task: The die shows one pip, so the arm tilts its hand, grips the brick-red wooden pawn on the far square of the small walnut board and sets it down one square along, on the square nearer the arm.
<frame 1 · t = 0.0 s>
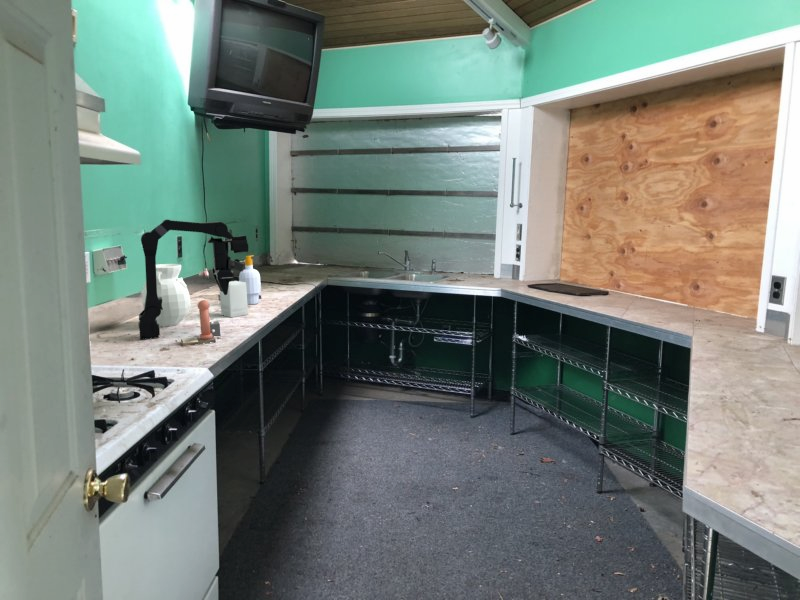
hand: (223, 293, 215), 15 cm above the worktop, tool pointing down, fingers open, 9 cm apart
pawn: (206, 338, 199), point 1 cm above the worktop, touching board
pitcher: (169, 324, 229), on the worktop
supplement box: (234, 315, 246), on the worktop
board: (198, 342, 198), on the worktop
die: (212, 335, 207), on the worktop
soap bottle: (251, 304, 273), on the worktop
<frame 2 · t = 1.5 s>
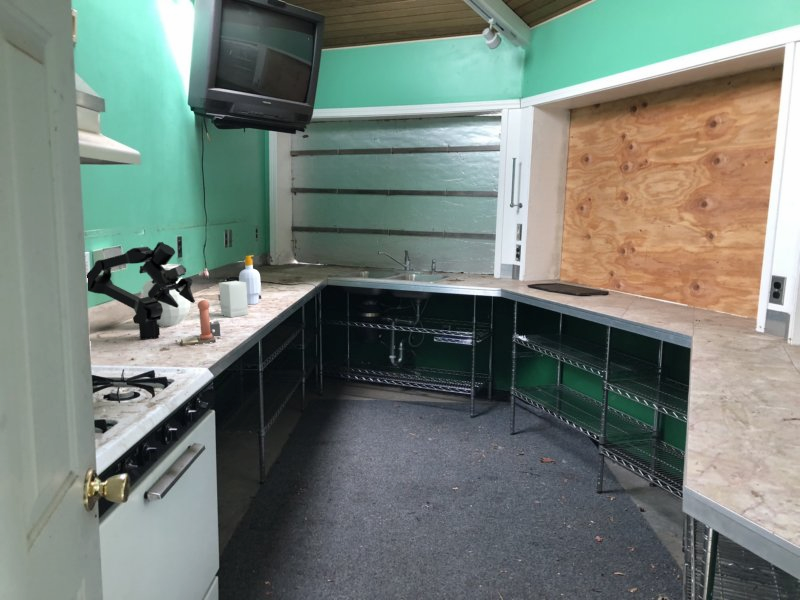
hand: (186, 304, 199), 13 cm above the worktop, tool tilted 45°, fingers open, 9 cm apart
nothing on the worktop moved.
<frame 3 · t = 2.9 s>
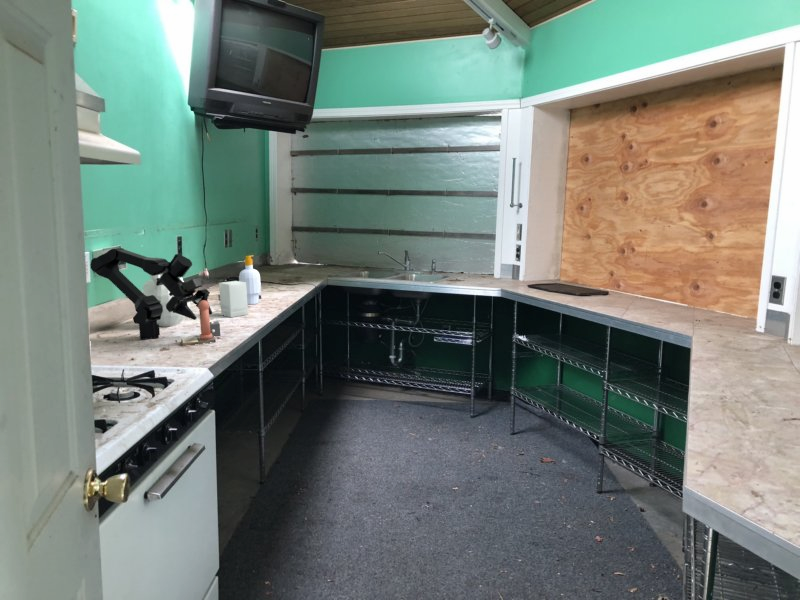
hand: (203, 316, 197), 9 cm above the worktop, tool tilted 45°, fingers open, 9 cm apart
nothing on the worktop moved.
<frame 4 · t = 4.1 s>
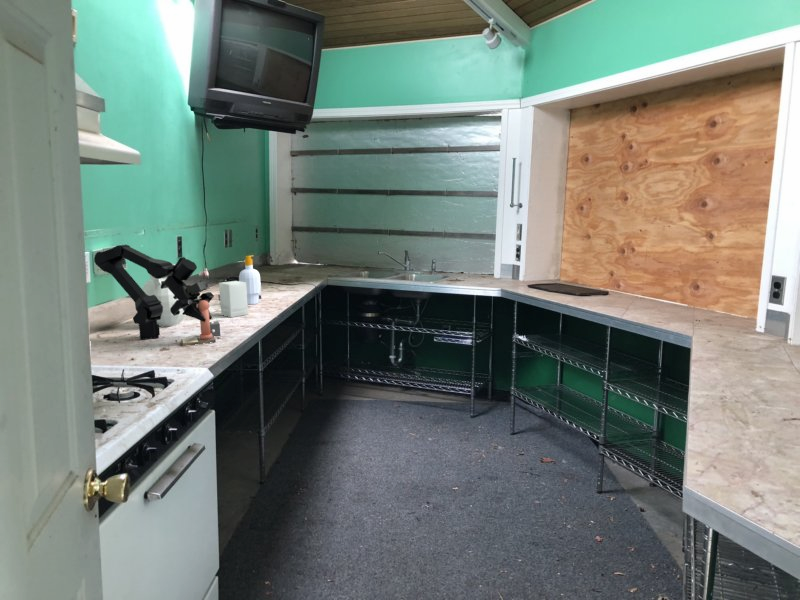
hand: (208, 319, 197), 8 cm above the worktop, tool tilted 45°, fingers closed on pawn, 3 cm apart
pawn: (206, 338, 199), point 1 cm above the worktop, touching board, gripper
everything else where it was.
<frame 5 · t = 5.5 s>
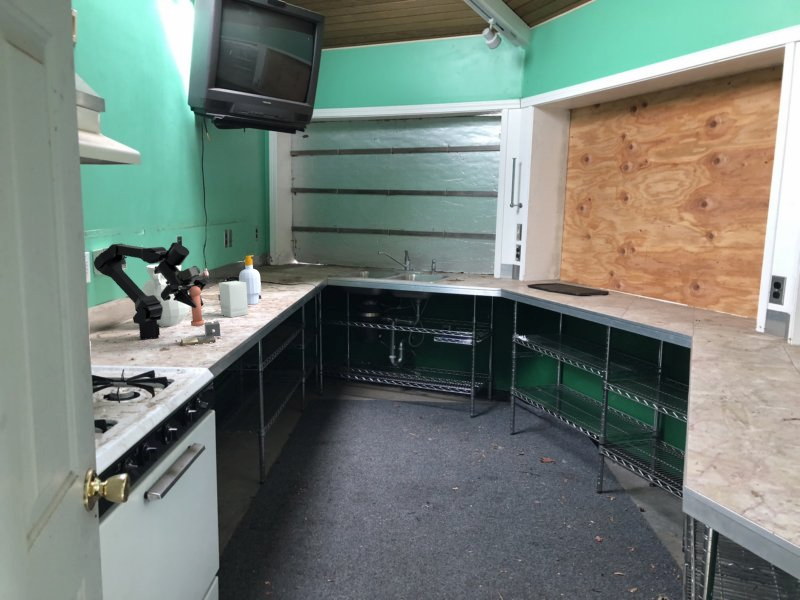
hand: (199, 306, 195), 13 cm above the worktop, tool tilted 45°, fingers closed on pawn, 3 cm apart
pawn: (197, 324, 197), point 6 cm above the worktop, touching gripper
everything else where it was.
when the fingers open (9 cm above the worktop, at t = 7.0 s): pawn drops 1 cm, resting on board.
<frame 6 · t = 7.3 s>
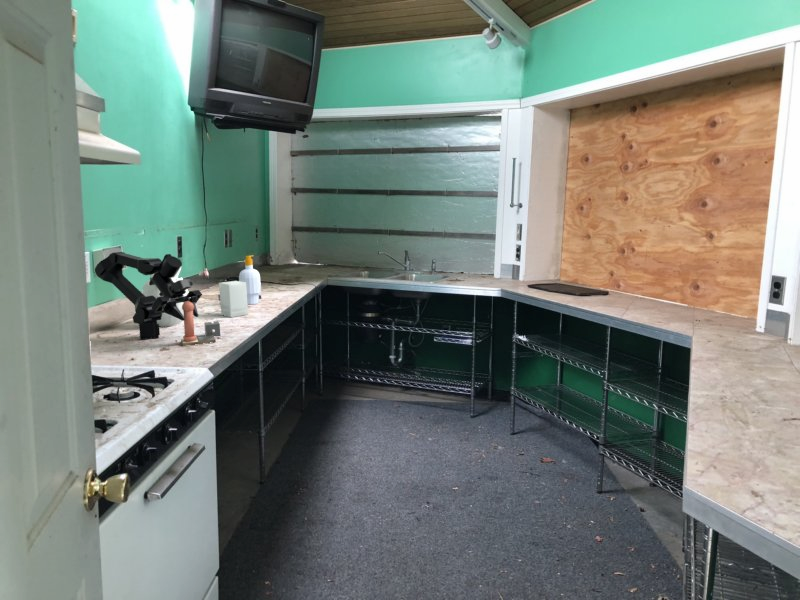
hand: (190, 318, 194), 9 cm above the worktop, tool tilted 45°, fingers open, 6 cm apart
pawn: (189, 339, 196), point 1 cm above the worktop, touching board
everything else where it was.
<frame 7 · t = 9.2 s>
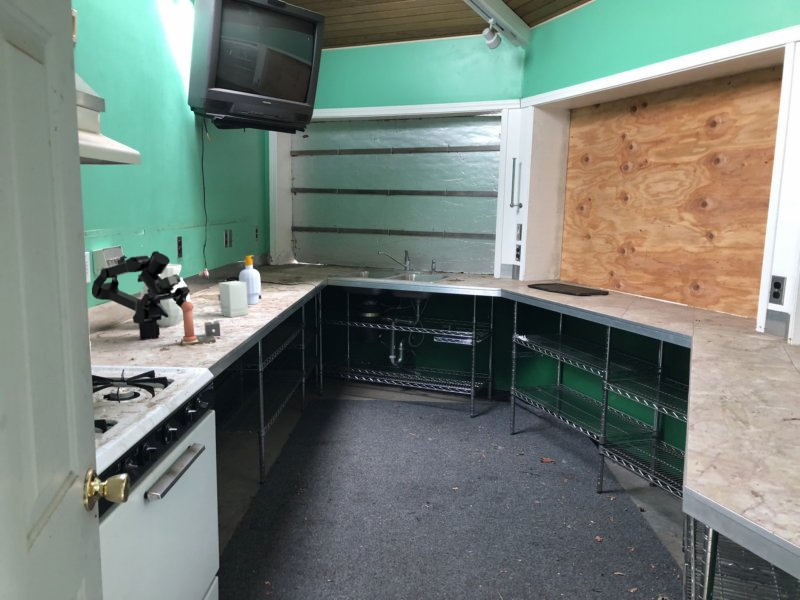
hand: (178, 314, 197), 10 cm above the worktop, tool tilted 45°, fingers open, 9 cm apart
nothing on the worktop moved.
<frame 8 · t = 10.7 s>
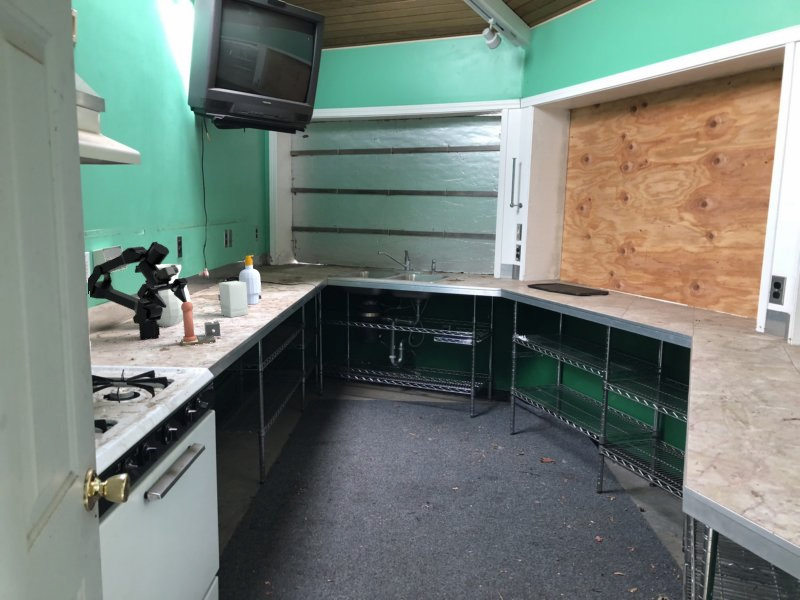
hand: (176, 305, 197), 14 cm above the worktop, tool tilted 45°, fingers open, 9 cm apart
nothing on the worktop moved.
at the end: pawn 0.0 cm from the target spot on the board, point 1.1 cm above the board's base; pawn tilted 0°; the gripper is holding nothing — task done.
